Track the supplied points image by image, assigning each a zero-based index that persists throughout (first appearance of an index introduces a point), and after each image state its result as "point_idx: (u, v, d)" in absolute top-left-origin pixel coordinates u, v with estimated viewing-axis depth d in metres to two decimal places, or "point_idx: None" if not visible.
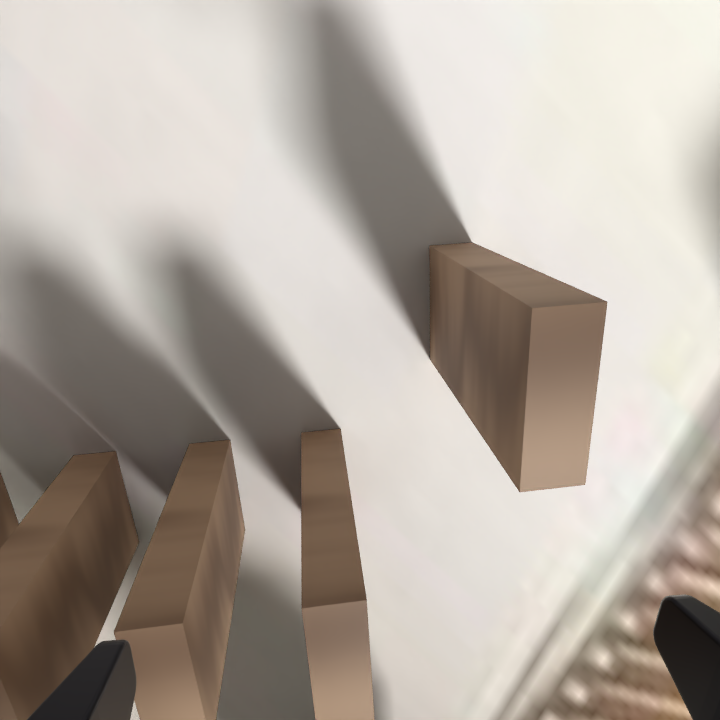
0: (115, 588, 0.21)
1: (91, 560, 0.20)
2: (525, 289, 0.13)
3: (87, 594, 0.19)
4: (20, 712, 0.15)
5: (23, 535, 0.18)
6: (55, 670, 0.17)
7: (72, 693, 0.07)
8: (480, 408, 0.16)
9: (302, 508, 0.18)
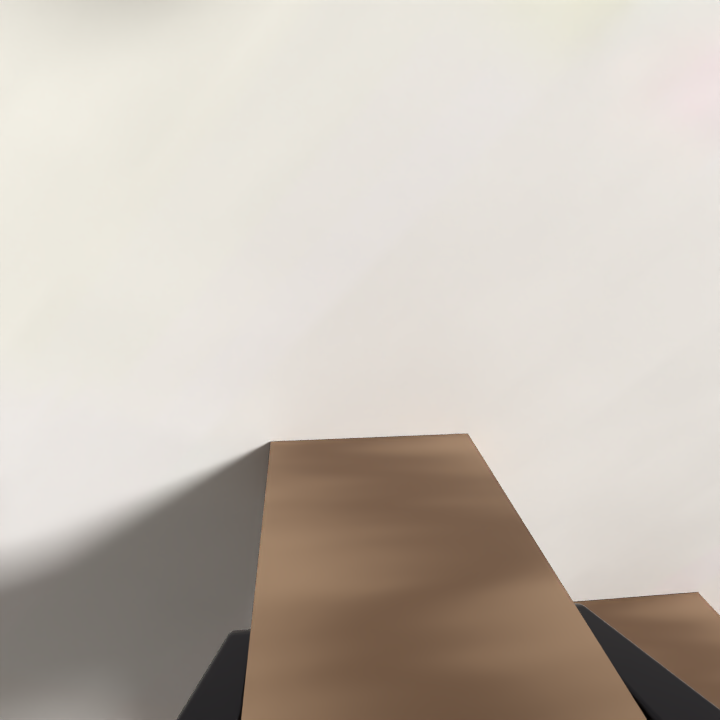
0: None
1: None
2: None
3: None
4: None
5: None
6: None
7: (222, 679, 0.07)
8: None
9: None
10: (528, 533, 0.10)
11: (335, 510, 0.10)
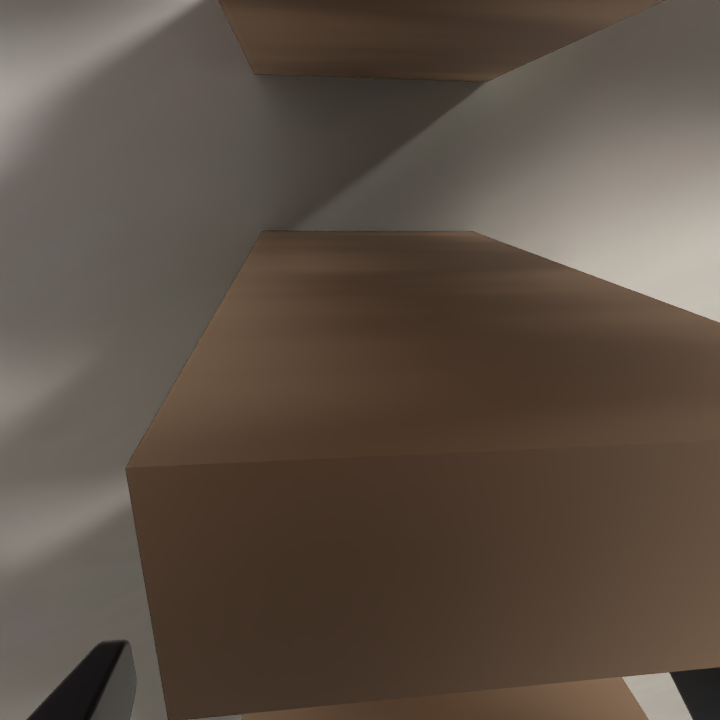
0: None
1: None
2: None
3: None
4: None
5: None
6: None
7: (72, 693, 0.07)
8: None
9: None
10: None
11: None
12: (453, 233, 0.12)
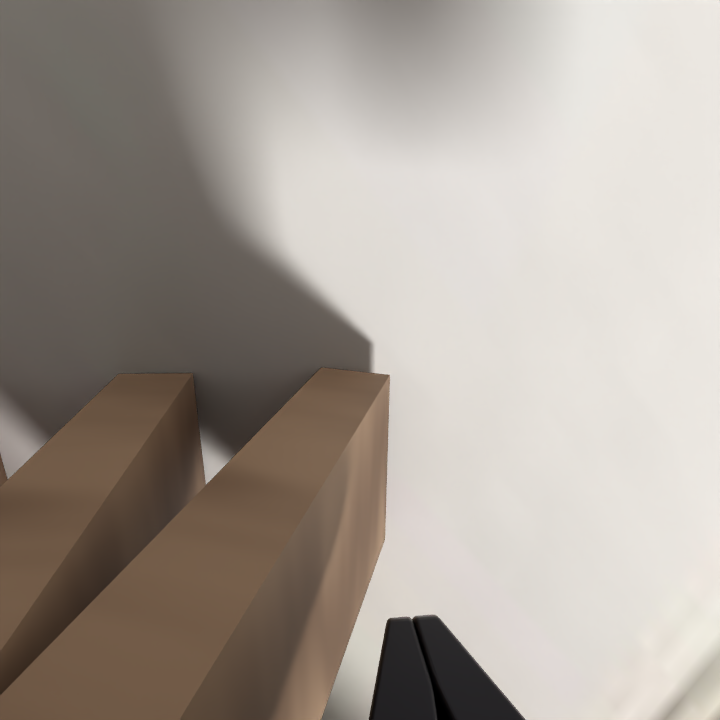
0: None
1: None
2: None
3: None
4: None
5: None
6: None
7: (401, 664, 0.07)
8: None
9: (202, 491, 0.08)
10: None
11: None
12: None
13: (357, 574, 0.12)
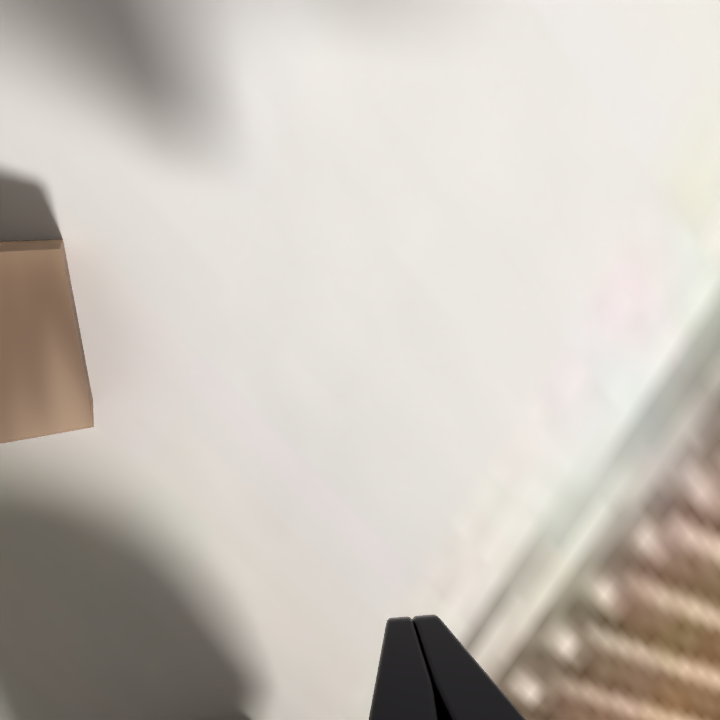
0: None
1: None
2: None
3: None
4: None
5: None
6: None
7: (401, 663, 0.07)
8: None
9: None
10: None
11: None
12: None
13: None
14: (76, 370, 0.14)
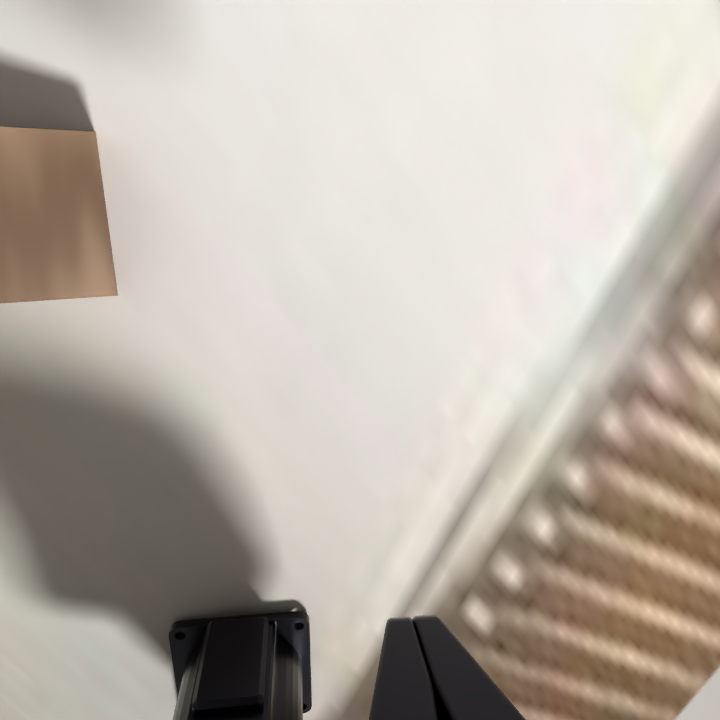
0: None
1: None
2: None
3: None
4: None
5: None
6: None
7: (401, 664, 0.07)
8: None
9: None
10: None
11: None
12: None
13: (10, 261, 0.15)
14: (105, 242, 0.16)
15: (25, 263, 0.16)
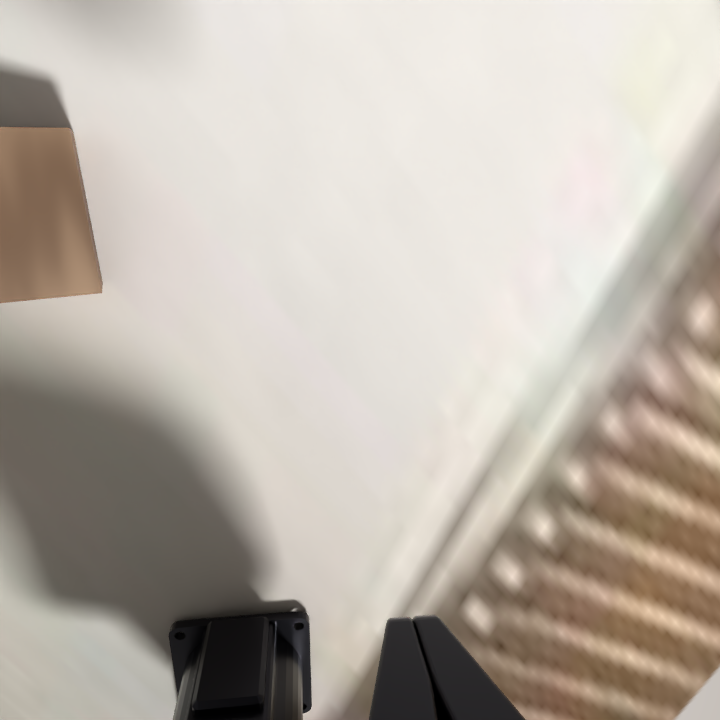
0: None
1: None
2: None
3: None
4: None
5: None
6: None
7: (401, 664, 0.07)
8: None
9: None
10: None
11: None
12: None
13: None
14: (85, 239, 0.16)
15: (6, 263, 0.16)
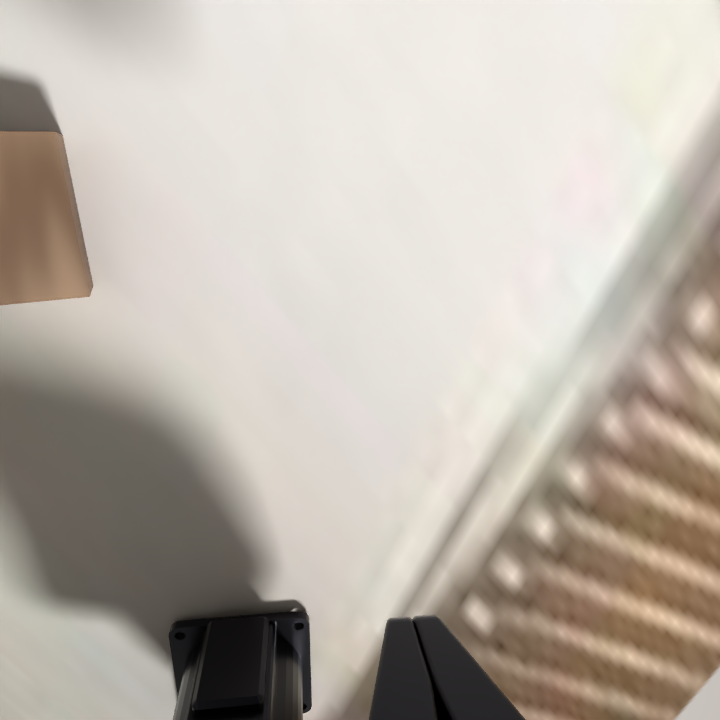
0: None
1: None
2: None
3: None
4: None
5: None
6: None
7: (401, 664, 0.07)
8: None
9: None
10: None
11: None
12: None
13: None
14: (73, 243, 0.16)
15: None
